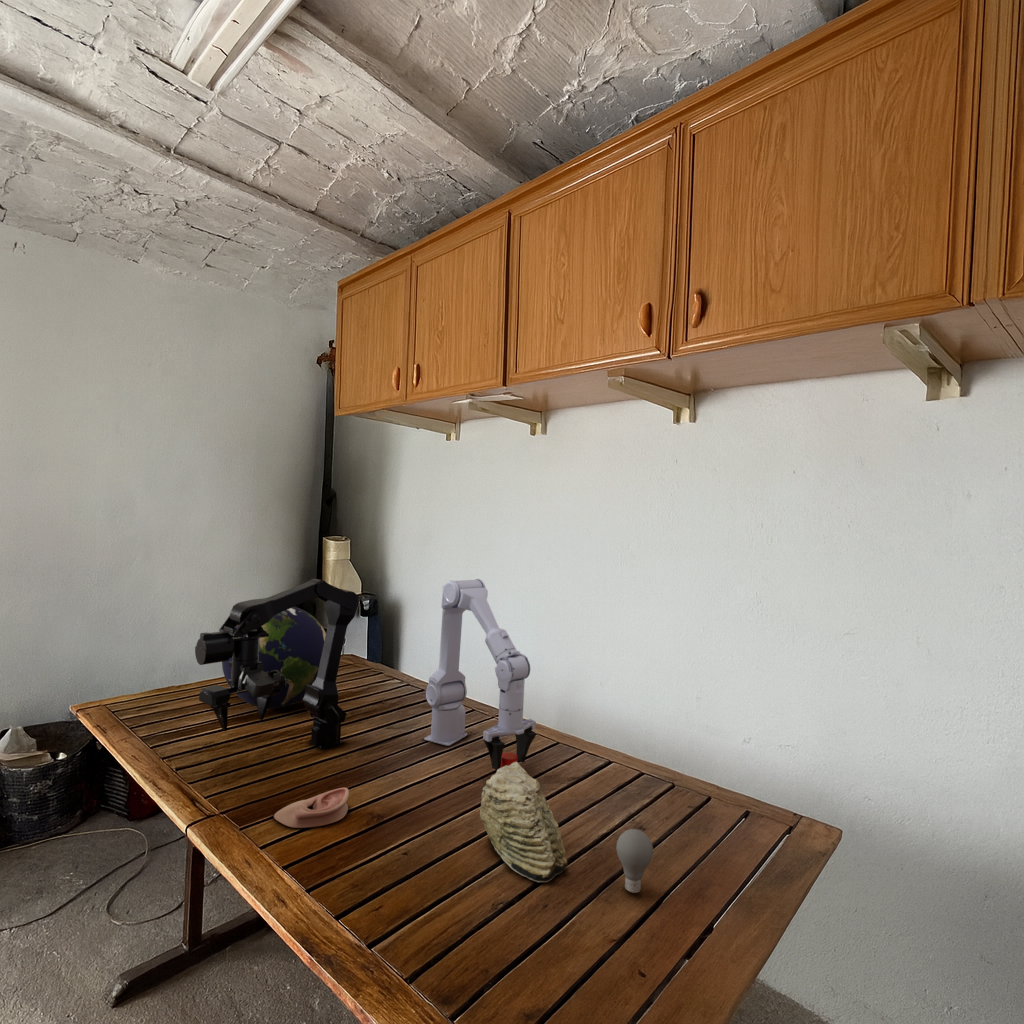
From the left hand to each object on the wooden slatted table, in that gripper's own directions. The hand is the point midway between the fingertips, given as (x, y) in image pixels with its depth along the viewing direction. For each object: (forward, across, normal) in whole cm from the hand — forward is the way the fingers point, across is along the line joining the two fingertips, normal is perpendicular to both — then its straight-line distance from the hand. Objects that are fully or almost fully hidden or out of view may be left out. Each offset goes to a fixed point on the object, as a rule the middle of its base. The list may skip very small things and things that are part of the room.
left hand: (243, 725), depth 146 cm
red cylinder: (+10, +37, -50) cm, 62 cm away
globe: (+10, +30, +30) cm, 44 cm away
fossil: (+10, +10, -71) cm, 72 cm away
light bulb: (+10, +13, -91) cm, 93 cm away
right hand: (+8, +37, -50) cm, 62 cm away
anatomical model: (+10, -4, -30) cm, 32 cm away
